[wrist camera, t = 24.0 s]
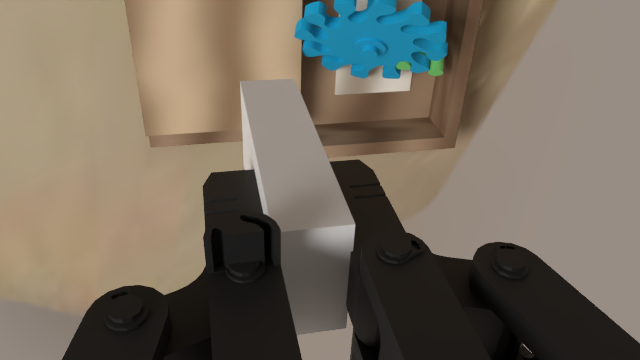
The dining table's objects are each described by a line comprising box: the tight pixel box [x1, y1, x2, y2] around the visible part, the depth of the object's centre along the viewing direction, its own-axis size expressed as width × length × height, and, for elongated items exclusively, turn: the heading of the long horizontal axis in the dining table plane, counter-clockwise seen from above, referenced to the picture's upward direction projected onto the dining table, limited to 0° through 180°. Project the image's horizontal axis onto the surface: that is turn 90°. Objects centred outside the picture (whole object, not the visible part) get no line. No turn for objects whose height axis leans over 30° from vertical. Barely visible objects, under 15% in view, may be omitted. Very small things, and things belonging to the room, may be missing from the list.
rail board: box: [125, 0, 484, 158], centre depth 38 cm, size 23×16×4 cm
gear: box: [294, 0, 448, 79], centre depth 37 cm, size 11×6×10 cm
